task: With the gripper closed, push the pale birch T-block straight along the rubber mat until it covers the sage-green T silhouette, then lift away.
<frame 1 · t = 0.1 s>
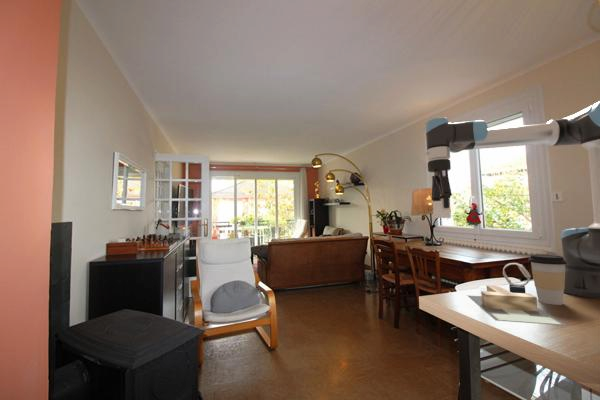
hand: (441, 217, 100), 28 cm above the table, fingers open, 13 cm apart
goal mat: (509, 309, 83), on the table
coffee cup: (550, 303, 88), on the table
watch: (517, 294, 98), on the table
t block: (502, 302, 88), resting on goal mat
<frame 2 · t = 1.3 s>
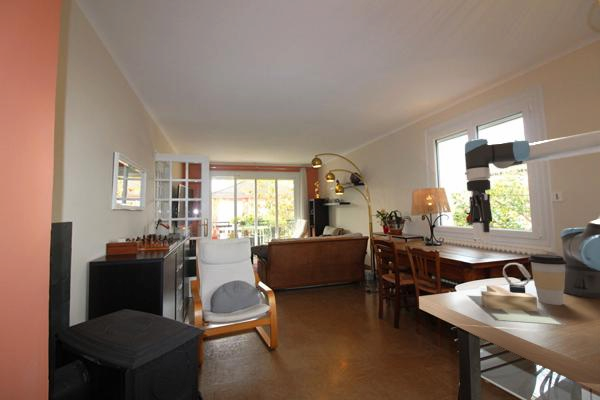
hand: (481, 240, 103), 19 cm above the table, fingers open, 8 cm apart
nothing on the table moved.
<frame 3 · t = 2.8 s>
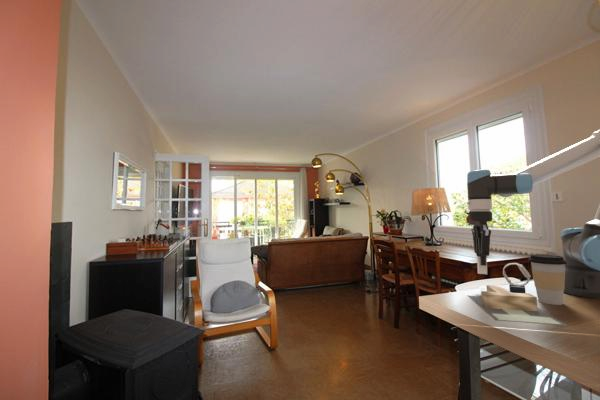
hand: (482, 273, 102), 7 cm above the table, fingers closed
nothing on the table moved.
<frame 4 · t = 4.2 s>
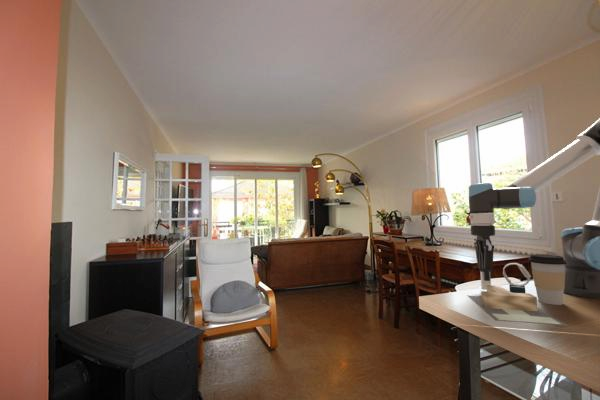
hand: (486, 289, 100), 1 cm above the table, fingers closed
nothing on the table moved.
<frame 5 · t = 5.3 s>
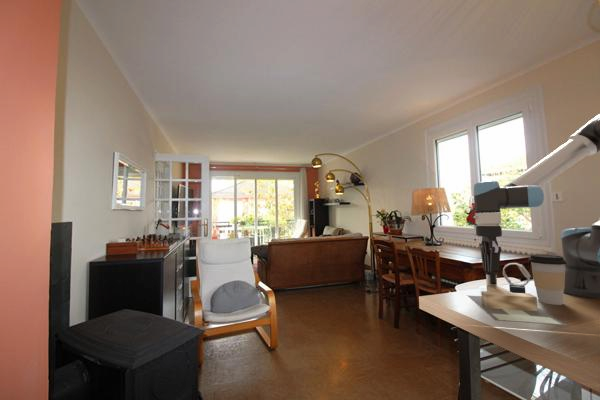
hand: (492, 293, 95), 1 cm above the table, fingers closed
t block: (502, 302, 88), resting on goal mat, touching gripper
everything else where it was.
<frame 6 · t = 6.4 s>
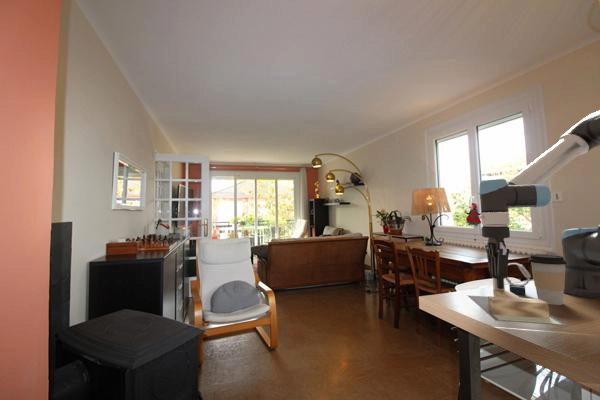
hand: (499, 297, 89), 2 cm above the table, fingers closed
t block: (510, 308, 82), resting on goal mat, touching gripper
everything else where it was.
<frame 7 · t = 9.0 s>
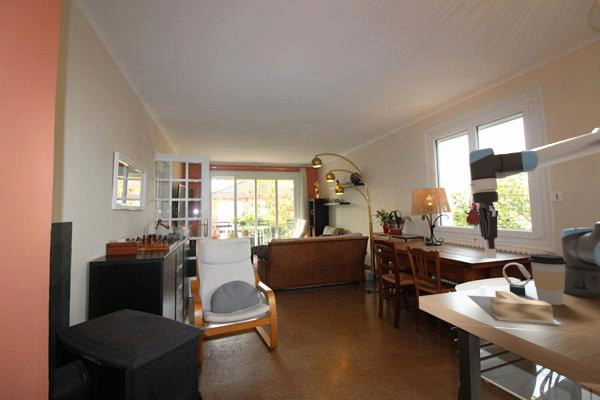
hand: (491, 257, 97), 13 cm above the table, fingers closed
t block: (513, 310, 81), resting on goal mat
everything else where it was.
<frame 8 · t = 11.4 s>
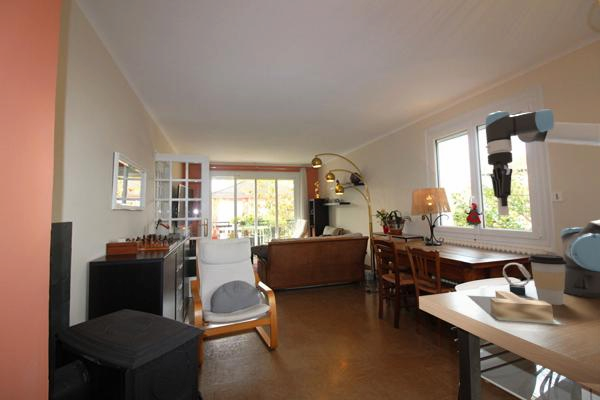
hand: (503, 215, 102), 28 cm above the table, fingers closed
nothing on the table moved.
at the end: t block 2.2 cm from the target spot, resting on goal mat; t block tilted 0° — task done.
